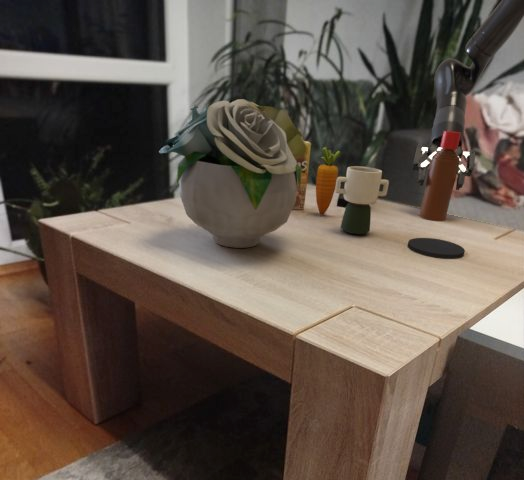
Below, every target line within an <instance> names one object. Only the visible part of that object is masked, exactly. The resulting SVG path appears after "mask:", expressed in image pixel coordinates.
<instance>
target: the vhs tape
mask: <svg viewBox="0 0 524 480" xmlns="http://www.w3.org/2000/svg"><path fill="white" fill-rule="evenodd" d="M340 189H344V187H340ZM343 195H344V194H339V193H338V197H337V203H336V204H337V205H336V206H337V207H343V208H346V206H347V204H348V203H349V202H348V201H346V200H345V199H344V196H343Z"/></svg>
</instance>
